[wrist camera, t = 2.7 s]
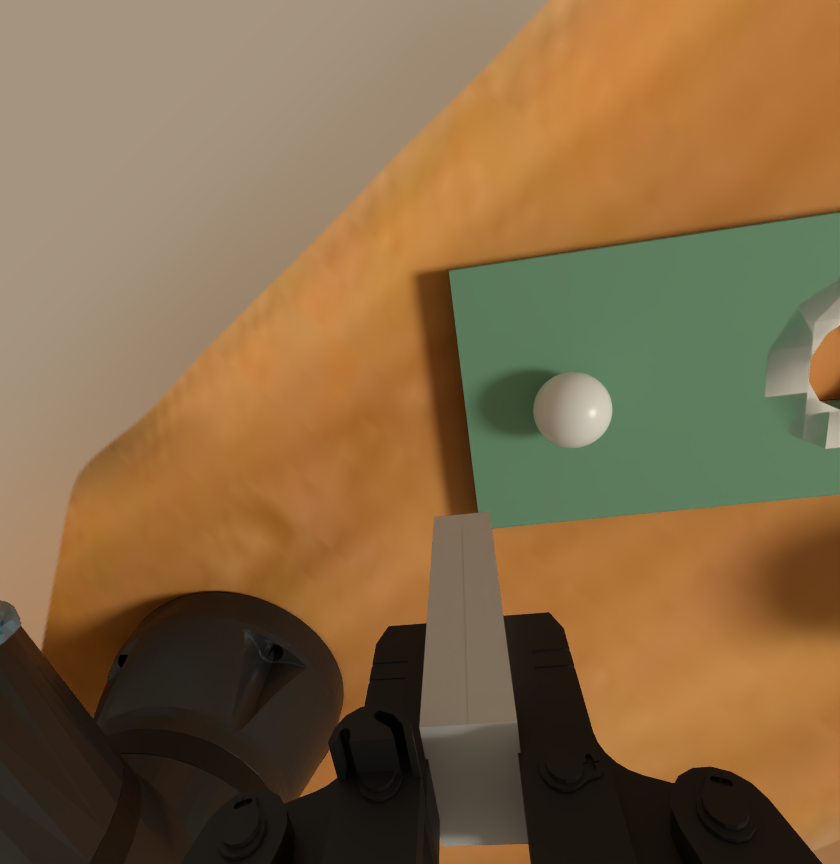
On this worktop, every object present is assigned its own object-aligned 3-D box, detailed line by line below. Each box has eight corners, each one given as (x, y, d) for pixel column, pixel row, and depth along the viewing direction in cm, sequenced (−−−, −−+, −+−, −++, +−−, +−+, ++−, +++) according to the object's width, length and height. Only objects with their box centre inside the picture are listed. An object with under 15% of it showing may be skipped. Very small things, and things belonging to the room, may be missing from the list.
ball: (531, 436, 27) (542, 464, 24) (525, 369, 26) (536, 388, 23) (601, 428, 27) (623, 455, 23) (599, 360, 26) (621, 377, 22)
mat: (478, 515, 31) (480, 529, 29) (448, 269, 26) (448, 270, 25) (920, 471, 28) (946, 483, 27) (973, 191, 24) (1008, 187, 22)
